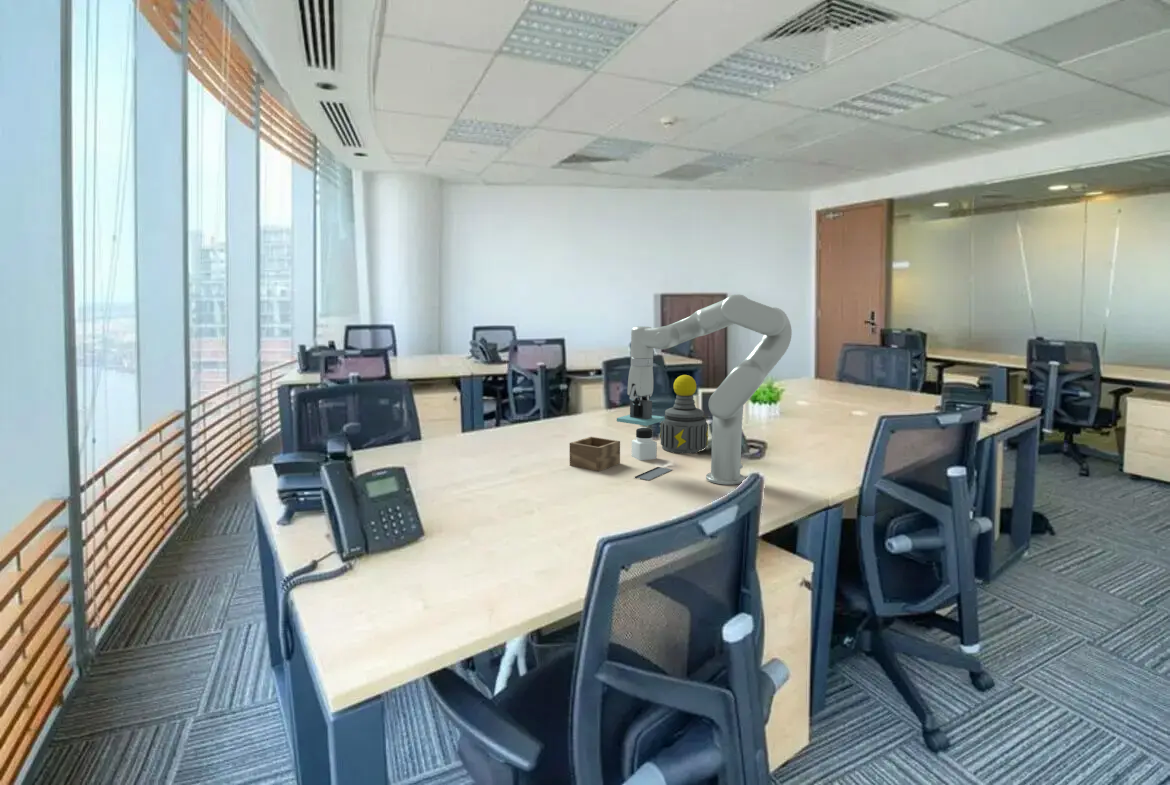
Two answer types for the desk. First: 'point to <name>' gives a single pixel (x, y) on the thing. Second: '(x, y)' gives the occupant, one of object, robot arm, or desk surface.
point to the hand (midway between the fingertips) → (640, 415)
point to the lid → (646, 415)
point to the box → (594, 453)
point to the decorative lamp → (684, 421)
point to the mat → (653, 473)
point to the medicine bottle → (644, 445)
